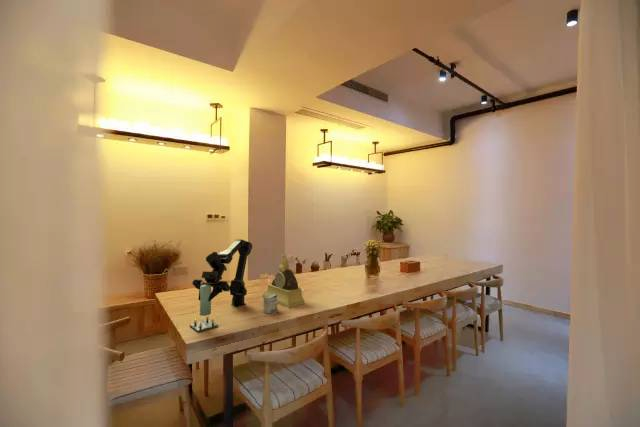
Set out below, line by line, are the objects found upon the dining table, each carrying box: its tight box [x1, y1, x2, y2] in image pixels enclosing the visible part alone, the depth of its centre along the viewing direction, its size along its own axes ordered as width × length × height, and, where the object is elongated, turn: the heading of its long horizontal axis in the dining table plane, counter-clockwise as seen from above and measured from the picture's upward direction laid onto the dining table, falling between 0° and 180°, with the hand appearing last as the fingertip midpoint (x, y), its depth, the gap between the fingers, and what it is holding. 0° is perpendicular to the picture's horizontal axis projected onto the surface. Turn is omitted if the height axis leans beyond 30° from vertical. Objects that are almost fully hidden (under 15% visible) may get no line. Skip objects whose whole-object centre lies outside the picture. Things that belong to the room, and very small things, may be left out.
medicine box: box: [263, 294, 278, 314], centre depth 162 cm, size 8×4×9 cm, turn 158°
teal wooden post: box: [199, 285, 212, 317], centre depth 138 cm, size 5×5×14 cm
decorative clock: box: [261, 253, 305, 309], centre depth 181 cm, size 28×13×30 cm, turn 44°
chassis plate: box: [189, 315, 219, 334], centre depth 139 cm, size 10×10×4 cm
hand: (203, 300), depth 137 cm, fingers closed on teal wooden post, 5 cm apart
